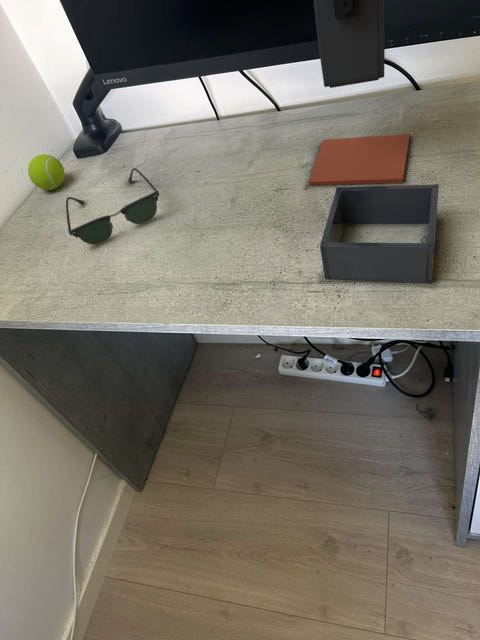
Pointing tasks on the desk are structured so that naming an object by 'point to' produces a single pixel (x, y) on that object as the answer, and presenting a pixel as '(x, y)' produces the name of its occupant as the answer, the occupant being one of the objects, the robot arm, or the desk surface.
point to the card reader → (351, 43)
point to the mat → (361, 160)
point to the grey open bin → (380, 257)
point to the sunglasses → (102, 226)
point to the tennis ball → (46, 172)
